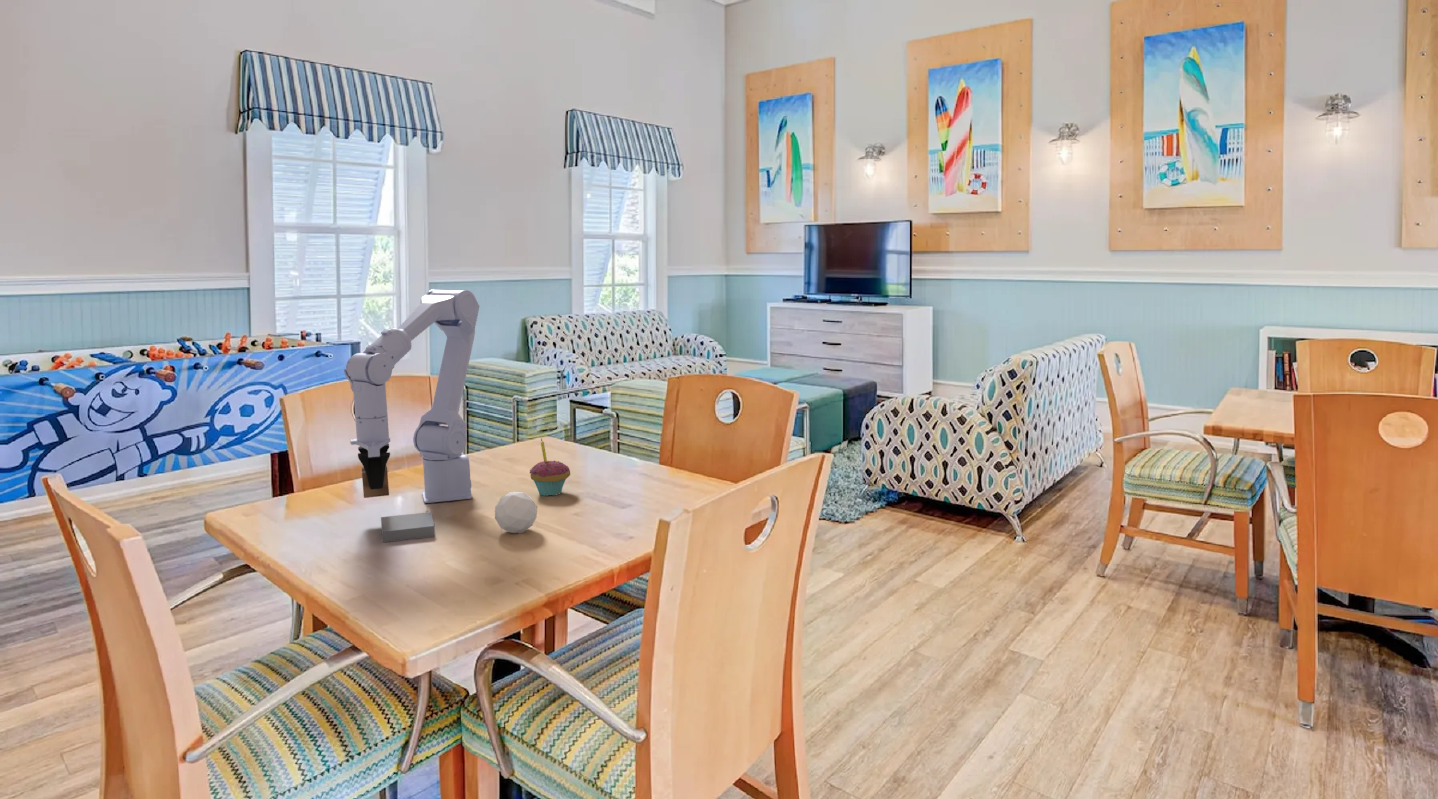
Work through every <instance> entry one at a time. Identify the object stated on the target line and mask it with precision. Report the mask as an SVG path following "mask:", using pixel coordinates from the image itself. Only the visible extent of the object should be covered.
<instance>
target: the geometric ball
mask: <svg viewBox="0 0 1438 799" xmlns="http://www.w3.org/2000/svg"><path fill="white" fill-rule="evenodd" d="M537 515H538V506H537V504H536V502H535V501H534V500H533V498H532V497H531V496H530V495H528V494H527V493H526V492H521V491H520V492H519V491H510V492H508V493H506V494H505V495H503V496H502V497H501V498H500V499H499V500H498V502H497V504H496V505H495V509H494V519H495V522H497V524H498V526H499V527H500V529H502V530H504V531H506V532H508V533H510V534H523V533H524V532H525V531H527V530H528V529H531V527H532V526H533V525H534V523H535V521H536V520H537V518H538V517H537Z"/></svg>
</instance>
